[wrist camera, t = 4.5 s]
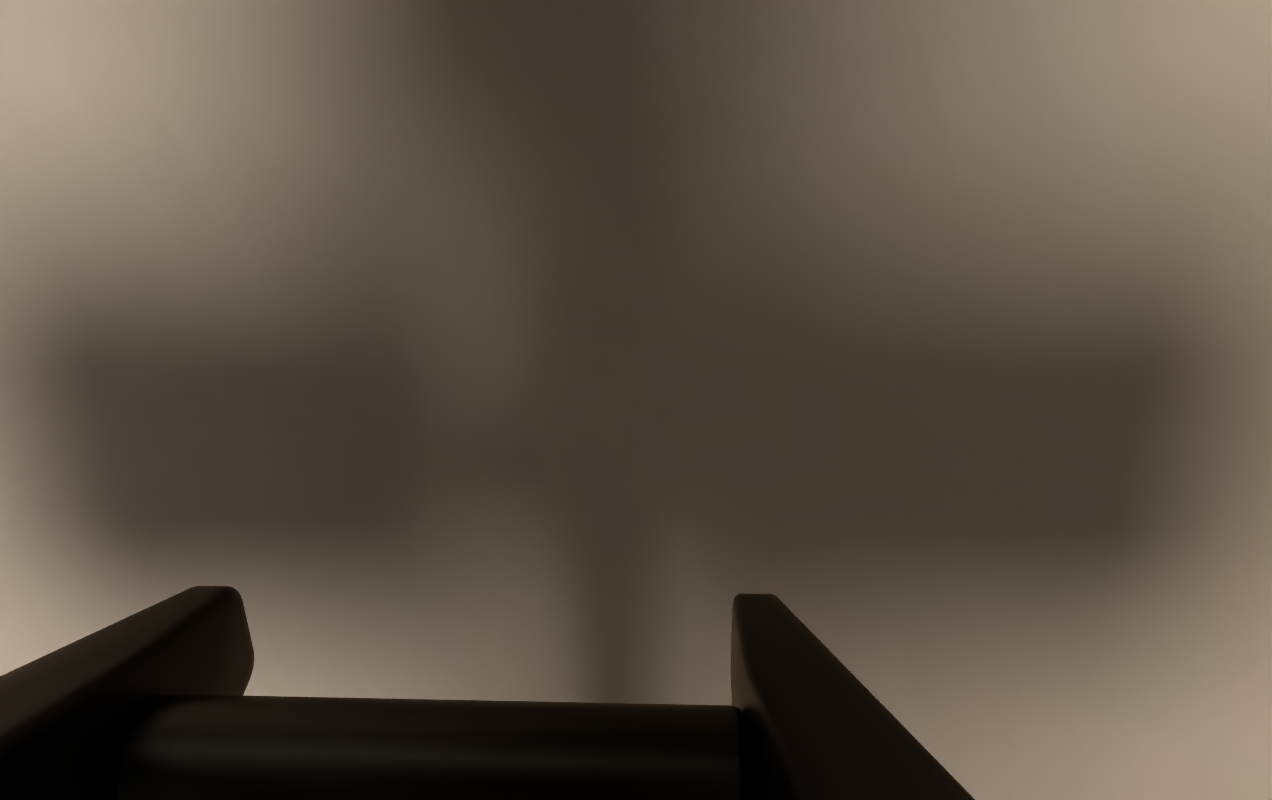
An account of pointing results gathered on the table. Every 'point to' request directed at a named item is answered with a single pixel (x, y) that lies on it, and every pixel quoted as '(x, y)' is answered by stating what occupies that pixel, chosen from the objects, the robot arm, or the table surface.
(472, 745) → the lever
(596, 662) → the table surface
